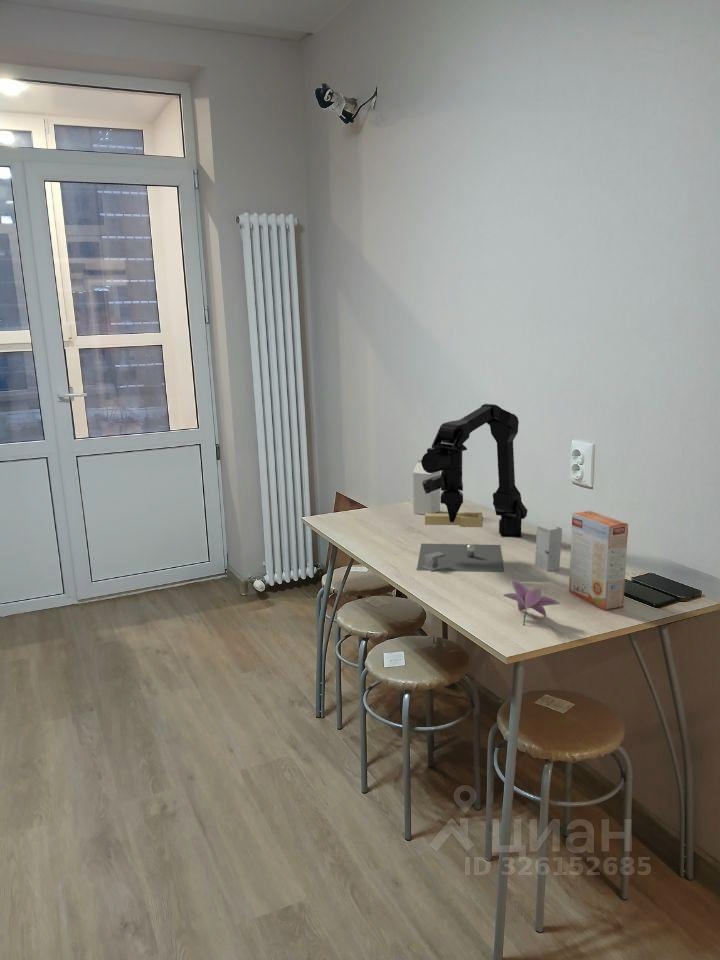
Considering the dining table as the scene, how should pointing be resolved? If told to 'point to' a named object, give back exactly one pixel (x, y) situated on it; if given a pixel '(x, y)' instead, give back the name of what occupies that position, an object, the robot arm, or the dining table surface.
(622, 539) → the cracker box
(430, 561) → the keeper
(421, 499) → the milk carton
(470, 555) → the cylinder
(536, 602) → the lily
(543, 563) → the skincare box
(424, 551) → the mat
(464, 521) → the link
